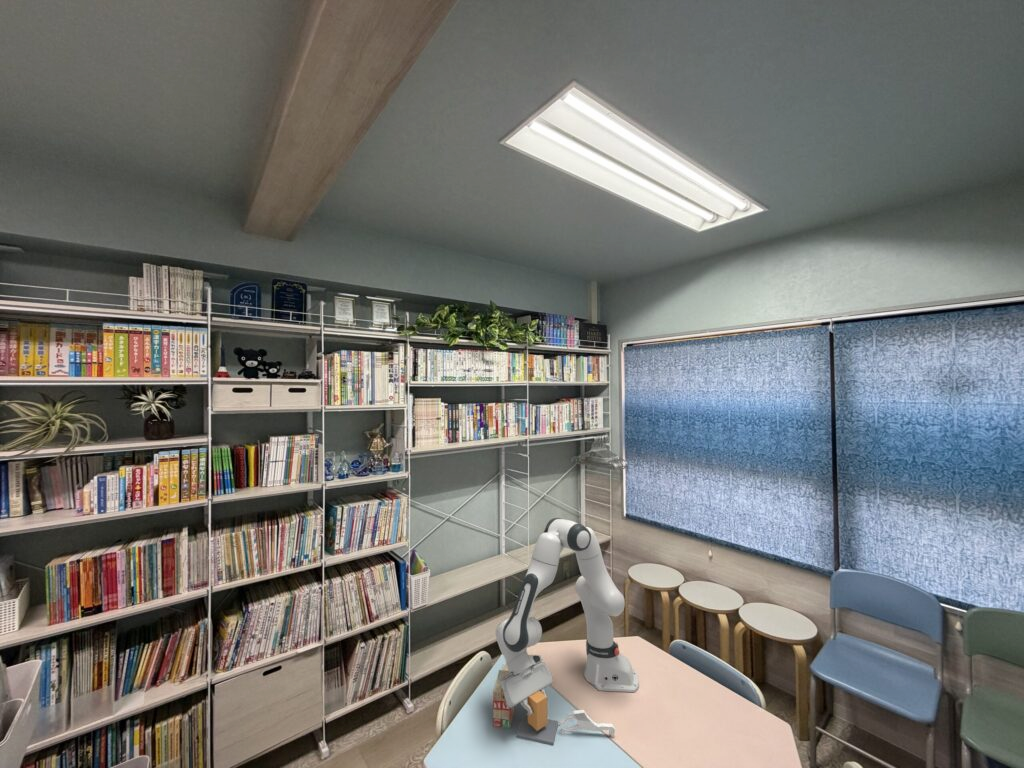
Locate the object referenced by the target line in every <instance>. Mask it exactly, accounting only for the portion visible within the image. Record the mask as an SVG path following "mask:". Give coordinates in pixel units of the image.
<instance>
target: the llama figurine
mask: <svg viewBox="0 0 1024 768" xmlns="http://www.w3.org/2000/svg"><path fill="white" fill-rule="evenodd" d="M569 720H576V722H577V723H575V724H573V725H569V726H566V727H563V728H560V731H561V732H560V734H562V735H564V734H565V733H568V732H571V731H575V730H579V731H583V730H585V731H593V732H602V731H609V732H608V733H609V735H610V738H611V739H612V738H614V735H615V732H616V728H615V726H614V725H613V724H612V723H603V722H599V723H597V722H595V721H594V720H593V719H592V718H591V717H590V716H589V715H588V714H587V713H586V711H585V710H584V709H578V710H573V711H572V713H568V714H567V715H566V717H564V718H563V719H561V720H560V721H558V727H562V726H563V725H564V724H565V723H567V721H569Z"/></svg>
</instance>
